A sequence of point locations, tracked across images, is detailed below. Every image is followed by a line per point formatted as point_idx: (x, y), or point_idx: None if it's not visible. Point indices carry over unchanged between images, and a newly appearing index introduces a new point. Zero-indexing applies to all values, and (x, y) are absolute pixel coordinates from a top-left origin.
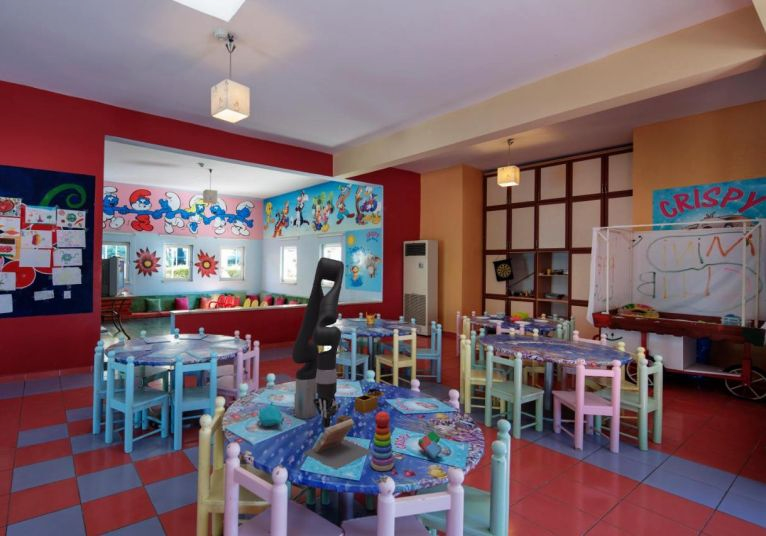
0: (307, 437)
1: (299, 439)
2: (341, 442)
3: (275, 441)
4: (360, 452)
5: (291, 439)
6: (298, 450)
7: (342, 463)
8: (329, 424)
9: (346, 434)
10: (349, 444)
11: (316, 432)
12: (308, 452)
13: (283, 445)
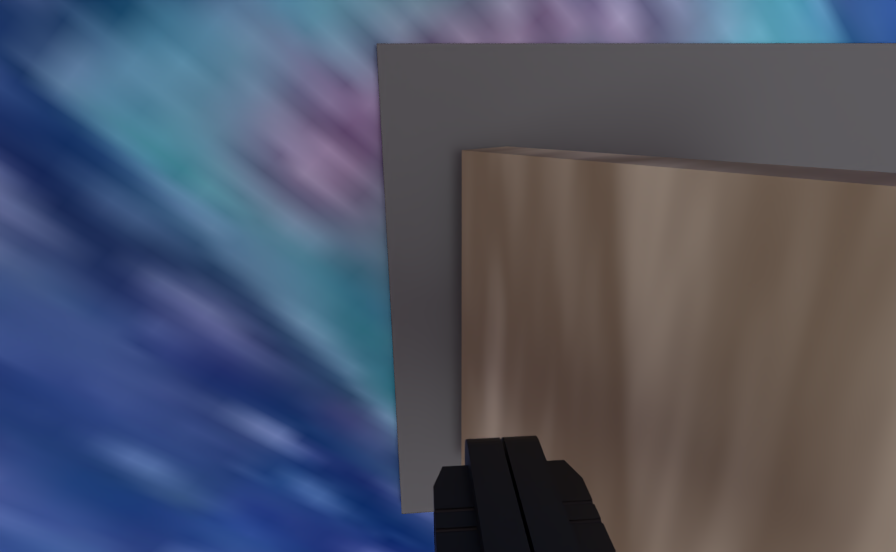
0: (90, 286)
1: (90, 370)
2: (506, 133)
3: (3, 532)
4: (828, 162)
5: (42, 421)
6: (312, 488)
7: None
8: (581, 493)
9: (663, 157)
10: (617, 105)
11: (2, 119)
12: (432, 480)
13: (133, 523)
